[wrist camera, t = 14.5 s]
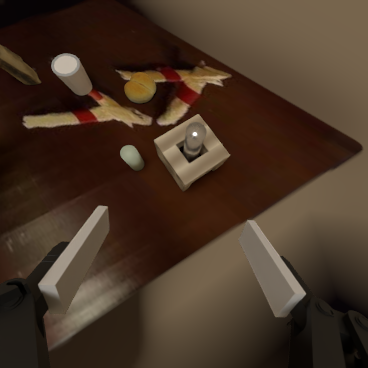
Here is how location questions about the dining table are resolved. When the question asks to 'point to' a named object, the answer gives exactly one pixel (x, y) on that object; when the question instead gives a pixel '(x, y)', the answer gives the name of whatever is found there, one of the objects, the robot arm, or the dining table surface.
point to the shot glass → (72, 73)
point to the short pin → (132, 157)
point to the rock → (17, 67)
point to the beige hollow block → (177, 163)
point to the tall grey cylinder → (193, 140)
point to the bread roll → (140, 88)
